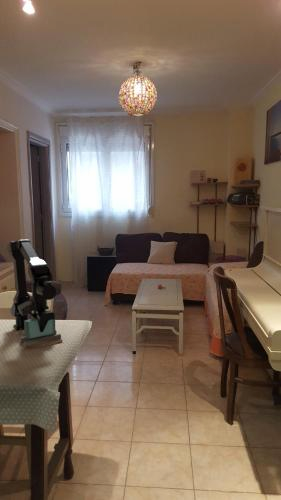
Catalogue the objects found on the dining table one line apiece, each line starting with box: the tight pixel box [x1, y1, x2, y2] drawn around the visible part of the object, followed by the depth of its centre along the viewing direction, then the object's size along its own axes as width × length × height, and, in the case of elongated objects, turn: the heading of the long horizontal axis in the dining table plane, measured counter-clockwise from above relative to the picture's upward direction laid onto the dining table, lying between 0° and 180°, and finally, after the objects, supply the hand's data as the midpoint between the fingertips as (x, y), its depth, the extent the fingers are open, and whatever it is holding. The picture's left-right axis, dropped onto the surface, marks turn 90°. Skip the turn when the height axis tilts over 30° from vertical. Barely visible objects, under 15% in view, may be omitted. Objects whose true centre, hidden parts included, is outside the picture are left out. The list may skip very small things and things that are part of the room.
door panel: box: [24, 318, 57, 339], centre depth 150 cm, size 12×2×7 cm, turn 124°
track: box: [18, 329, 64, 351], centre depth 151 cm, size 9×15×3 cm, turn 124°
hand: (40, 331), depth 150 cm, fingers closed on door panel, 2 cm apart
